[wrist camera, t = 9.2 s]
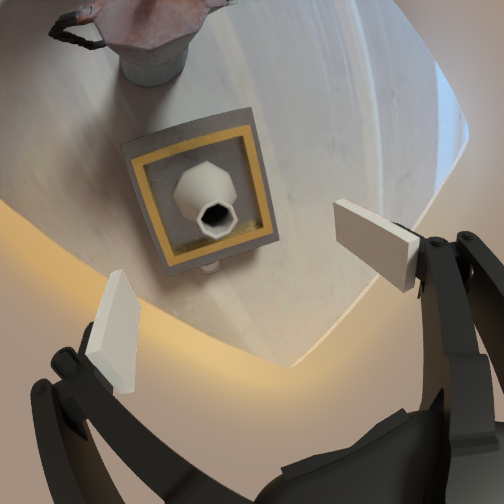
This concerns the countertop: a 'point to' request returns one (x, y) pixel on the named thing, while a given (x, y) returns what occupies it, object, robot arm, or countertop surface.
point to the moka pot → (142, 33)
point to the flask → (207, 199)
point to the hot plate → (185, 157)
